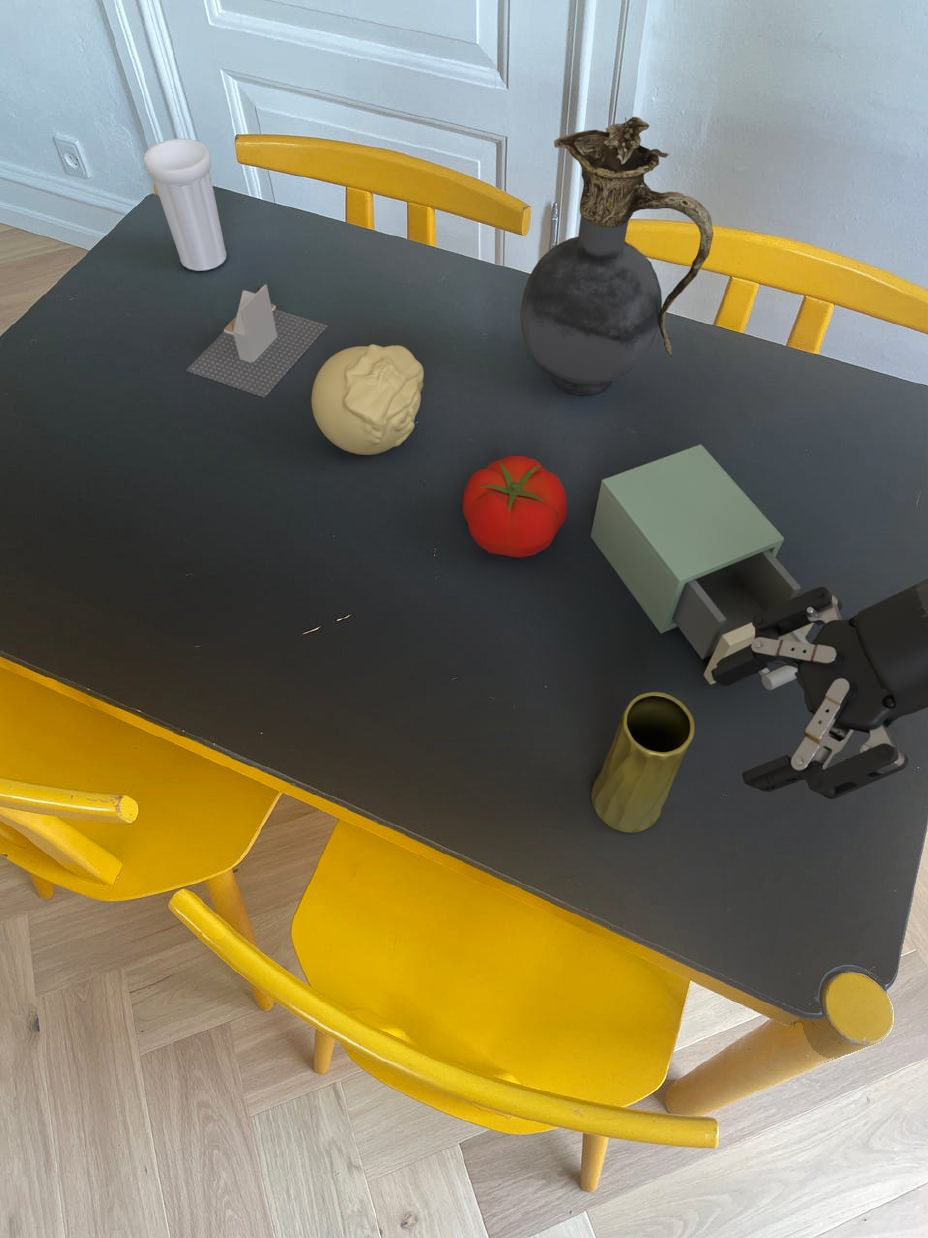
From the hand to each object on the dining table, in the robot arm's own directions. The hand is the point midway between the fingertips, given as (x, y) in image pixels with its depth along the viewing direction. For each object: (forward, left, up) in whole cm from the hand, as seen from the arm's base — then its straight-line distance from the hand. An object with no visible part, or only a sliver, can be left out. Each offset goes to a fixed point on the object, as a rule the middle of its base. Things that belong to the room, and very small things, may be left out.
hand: (732, 728), depth 64 cm
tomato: (+33, +1, -12) cm, 35 cm away
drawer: (+12, -12, -11) cm, 21 cm away
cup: (+94, +17, -12) cm, 96 cm away
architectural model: (+73, +16, -12) cm, 76 cm away
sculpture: (+53, +9, -12) cm, 55 cm away
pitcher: (+50, -19, -12) cm, 55 cm away
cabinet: (+22, -12, -12) cm, 28 cm away
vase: (+2, +6, -12) cm, 14 cm away
